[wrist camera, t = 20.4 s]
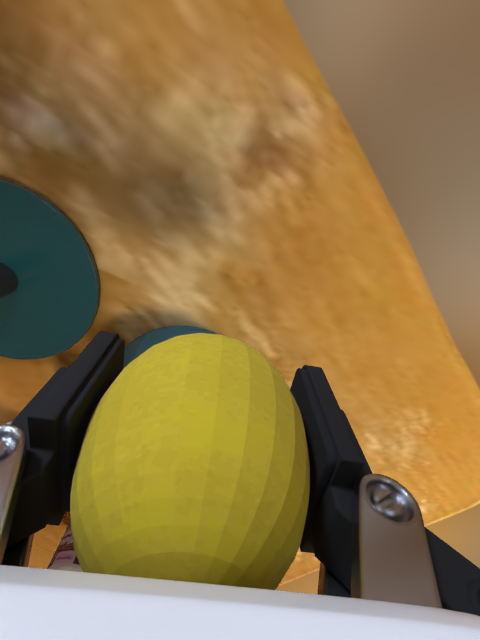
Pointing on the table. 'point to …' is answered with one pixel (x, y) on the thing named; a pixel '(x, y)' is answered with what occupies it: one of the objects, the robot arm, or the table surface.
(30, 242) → the cooker lid
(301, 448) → the lemon
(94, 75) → the table surface
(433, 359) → the table surface
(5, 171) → the table surface
